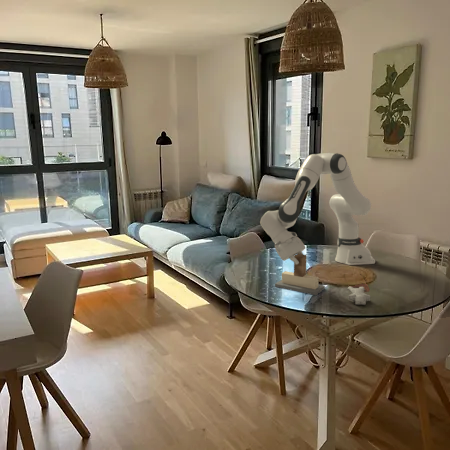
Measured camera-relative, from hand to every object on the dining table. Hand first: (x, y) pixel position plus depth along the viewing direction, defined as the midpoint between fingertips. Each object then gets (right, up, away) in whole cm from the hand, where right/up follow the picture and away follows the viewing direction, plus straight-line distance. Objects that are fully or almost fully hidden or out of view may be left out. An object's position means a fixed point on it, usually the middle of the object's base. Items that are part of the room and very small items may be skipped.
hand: (301, 261), depth 215 cm
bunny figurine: (+24, -17, -14) cm, 32 cm away
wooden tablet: (+29, -12, +9) cm, 33 cm away
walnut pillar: (0, -7, +2) cm, 7 cm away
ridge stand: (0, -13, +3) cm, 13 cm away
